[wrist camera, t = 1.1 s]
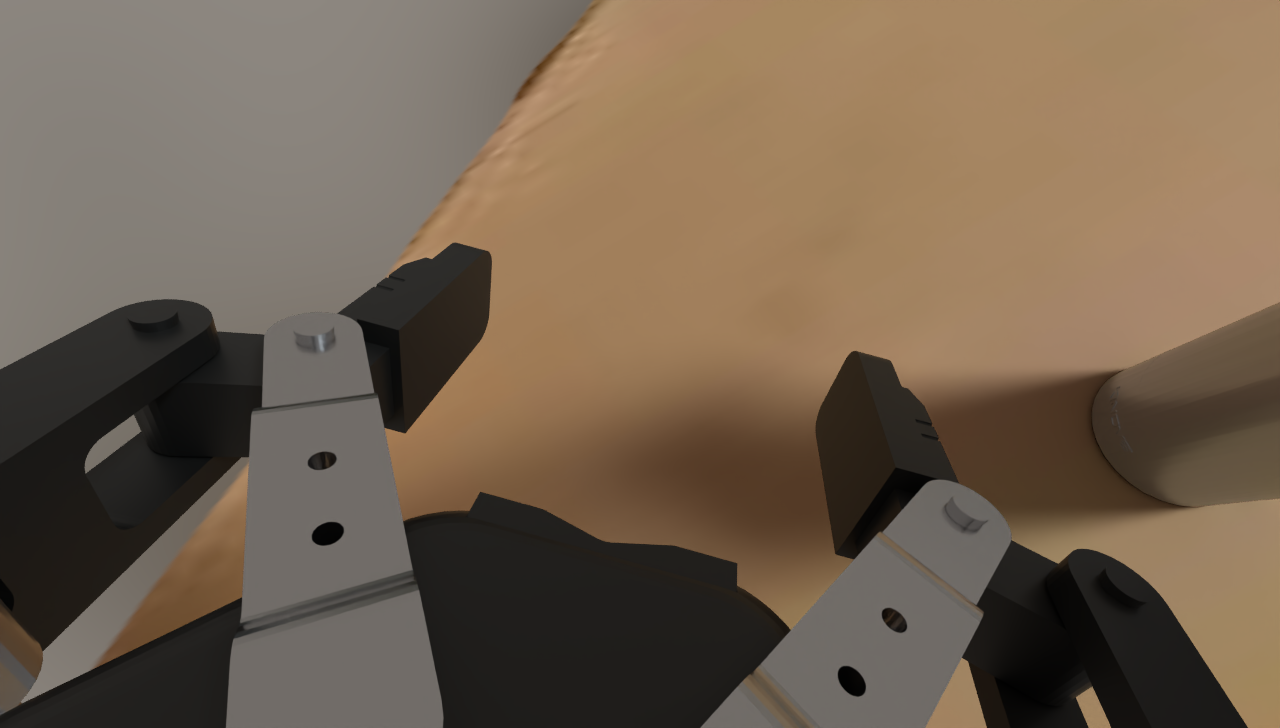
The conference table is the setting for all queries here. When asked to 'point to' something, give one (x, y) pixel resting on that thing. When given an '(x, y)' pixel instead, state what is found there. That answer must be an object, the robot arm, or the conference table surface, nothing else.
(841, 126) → the conference table surface
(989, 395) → the conference table surface
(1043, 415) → the conference table surface
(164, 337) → the robot arm
